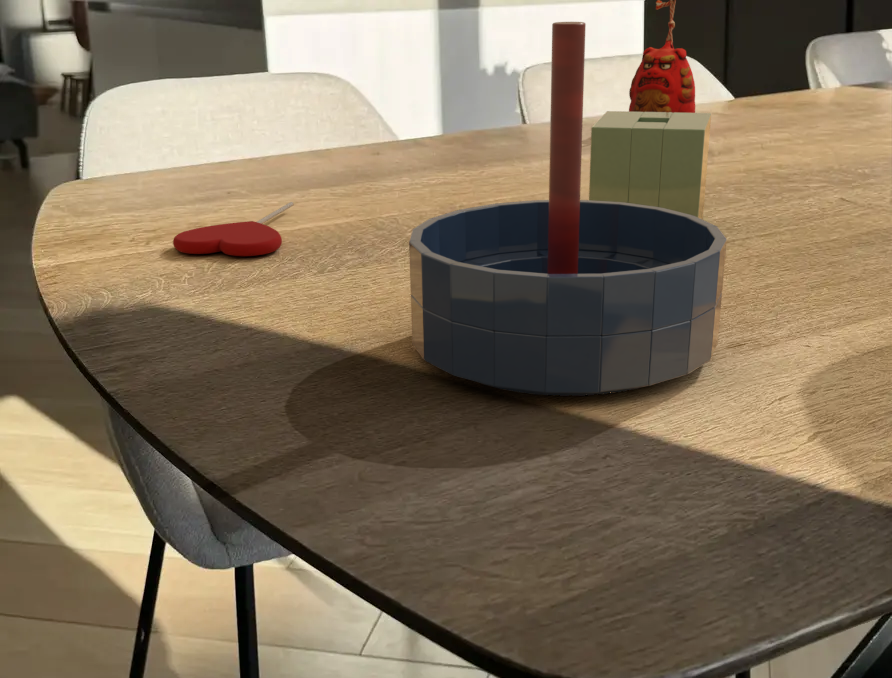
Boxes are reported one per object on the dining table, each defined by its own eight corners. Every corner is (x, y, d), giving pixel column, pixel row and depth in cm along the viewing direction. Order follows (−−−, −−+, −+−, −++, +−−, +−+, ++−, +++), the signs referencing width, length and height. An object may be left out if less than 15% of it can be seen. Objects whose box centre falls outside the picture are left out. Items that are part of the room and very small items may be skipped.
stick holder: (602, 212, 90) (606, 111, 87) (703, 217, 88) (711, 113, 85) (587, 236, 83) (591, 127, 80) (696, 241, 81) (704, 129, 78)
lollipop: (247, 207, 94) (162, 253, 81) (246, 196, 94) (161, 240, 80) (338, 211, 92) (267, 258, 79) (337, 200, 92) (265, 245, 78)
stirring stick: (563, 330, 61) (571, 21, 55) (581, 338, 60) (592, 22, 54) (540, 336, 61) (545, 22, 54) (558, 344, 59) (566, 24, 53)
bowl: (580, 290, 71) (584, 187, 68) (779, 361, 59) (793, 240, 56) (359, 341, 63) (353, 227, 60) (536, 436, 51) (538, 298, 48)
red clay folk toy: (618, 132, 126) (625, -11, 120) (640, 123, 132) (648, -14, 126) (683, 136, 123) (693, -11, 117) (703, 127, 128) (714, -14, 122)
